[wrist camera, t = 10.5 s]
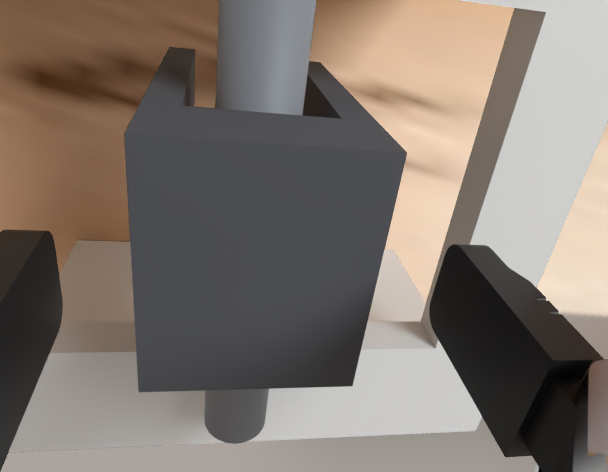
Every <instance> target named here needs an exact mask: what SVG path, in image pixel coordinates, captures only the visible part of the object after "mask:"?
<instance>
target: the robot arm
mask: <svg viewBox="0 0 608 472" xmlns="http://www.w3.org/2000/svg"><path fill="white" fill-rule="evenodd" d="M62 312H63V300H62V292H61V285H60V278H59V272H58V265H57V258H56V251H55V244H54V240H53V236H52V234H51V233H50V232H49V231H31V230H3V231H1V232H0V471H1V468H2V466H3V464H4V461H5V459H6V457H7V454H8V452H9V449H10V447H11V445H12V442H13V440H14V438H15V435H16V433H17V430H18V428H19V426H20V423H21V421H22V418H23V416H24V414H25V411H26V409H27V406H28V404H29V402H30V399H31V397H32V394H33V392H34V390H35V387H36V385H37V382H38V380H39V378H40V375H41V373H42V370H43V368H44V366H45V363H46V361H47V358H48V356H49V354H50V351H51V349H52V346H53V344H54V342H55V339H56V337H57V334H58V332H59V329H60V325H61V320H62ZM429 316H430V323H431V326H432V329H433V331H434V333H435V335H436V336H437V338H438V340H439V342H440V343H441V345H442V347H443V349H444V350H445V352H446V354H447V356H448V357H449V359H450V361H451V363H452V364H453V366H454V368H455V370H456V371H457V373H458V375H459V377H460V378H461V380H462V382H463V384H464V386H465V387H466V389H467V391H468V393H469V394H470V396H471V398H472V400H473V401H474V403H475V405H476V407H477V408H478V410H479V412H480V414H481V415H482V417H483V419H484V421H485V422H486V424H487V426H488V428H489V429H490V431H491V433H492V435H493V436H494V438H495V440H496V442H497V444H498V445H499V447H500V449H501V450H502V452H503V454H504V456H505V457H516V456H531V455H532V456H533V458H534V460H535V461H536V463H537V464H536V467H535V468H534V470H533V472H608V359H603V358H602V357H601V356H600V355H599V353H598V352H596V351H595V349H594V348H593V347H592V346H591V345H590V344H589V343H588V342H587V341H586V340H585V339H584V338H583V337H582V335H580V333H579V332H578V331H577V330H576V329H575V328H574V327H573V326H572V325H571V324H570V323H569V322H568V321H567V320H566V319H565V318H564V316H563V315H562V314H558V310H557V309H556V308H555V307H554V306H553V305H552V304H551V303H550V302H549V301H546V297H545V296H544V295H543V294H542V293H541V292H540V291H539V290H538V289H537V288H536V287H535V286H534V285H533V284H532V283H531V282H530V281H529V280H527V279H526V278H524V277H522V276H521V275H519V274H518V273H516V272H515V271H513V270H512V269H510V268H509V267H508V266H507V265H506V264H505V263H504V262H503V261H502V260H501V259H500V258H499V257H498V255H497V254H496V253H495V252H494V251H493V250H492V249H491V248H490V247H489V246H486V245H463V244H453V245H451V246H450V247H449V248H448V249H447V251H446V253H445V256H444V259H443V262H442V266H441V269H440V272H439V275H438V278H437V282H436V285H435V288H434V291H433V295H432V298H431V301H430V307H429Z"/></svg>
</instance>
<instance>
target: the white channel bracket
mask: <svg viewBox="0 0 608 472" xmlns="http://www.w3.org/2000/svg"><path fill="white" fill-rule="evenodd" d="M461 1H468V2H475V3H483V4H490V5H497V6H505V7H512V8H514V11H513V15H512V18H511V21H510V25H509V28H508V31H507V35H506V38H505V41H504V45H503V48H502V51H501V55H500V58H499V61H498V65H497V68H496V71H495V75H494V78H493V81H492V85H491V88H490V91H489V95H488V98H487V101H486V105H485V108H484V111H483V115H482V118H481V121H480V125H479V128H478V131H477V135H476V138H475V141H474V145H473V148H472V151H471V155H470V158H469V161H468V165H467V168H466V171H465V175H464V178H463V181H462V185H461V188H460V191H459V195H458V198H457V201H456V205H455V208H454V211H453V215H452V218H451V221H450V225H449V228H448V231H447V235H446V238H445V241H444V245H443V248H442V251H441V255H440V258H439V261H438V265H437V268H436V271H435V275H434V278H433V281H432V285H431V288H430V291H429V295H428V298H427V301H426V303H425V301H424V299H423V298H422V296H421V294H420V293H419V291H418V289H417V288H416V286H415V284H414V283H413V281H412V279H411V278H410V276H409V274H408V272H407V271H406V269H405V267H404V266H403V264H402V262H401V261H400V259H399V257H398V256H397V254H396V252H395V251H394V249H384V253H383V258H382V262H381V266H380V271H379V275H378V279H377V283H376V288H375V292H374V296H373V301H372V305H371V309H370V313H369V318H368V322H367V326H366V330H365V335H364V339H363V343H362V348H361V352H360V356H359V360H358V365H357V369H356V373H355V377H354V382H353V386H346V387H311V388H275V389H239V390H203V391H167V392H139V391H138V373H137V355H136V337H135V319H134V300H133V282H132V264H131V246H130V242H122V241H88V240H77V241H76V243H75V245H74V247H73V249H72V251H71V253H70V255H69V257H68V259H67V261H66V263H65V265H64V267H63V269H62V271H61V273H60V275H59V278H60V285H61V292H62V300H63V312H62V320H61V325H60V329H59V332H58V334H57V337H56V339H55V342H54V344H53V346H52V349H51V351H50V354H49V356H48V358H47V361H46V363H45V366H44V368H43V370H42V373H41V375H40V378H39V380H38V382H37V385H36V387H35V390H34V392H33V394H32V397H31V399H30V402H29V404H28V406H27V409H26V411H25V414H24V416H23V418H22V421H21V423H20V426H19V428H18V430H17V433H16V435H15V438H14V440H13V442H12V445H11V447H10V449H9V452H8V453H14V452H34V451H55V450H77V449H97V448H117V447H118V448H120V447H141V446H163V445H183V444H204V443H242V442H247V441H269V440H290V439H311V438H333V437H352V436H353V437H354V436H374V435H396V434H415V433H416V434H418V433H439V432H459V431H476V429H477V427H478V424H479V422H480V420H481V417H482V415H481V414H480V412H479V410H478V408H477V407H476V405H475V403H474V401H473V400H472V398H471V396H470V394H469V393H468V391H467V389H466V387H465V386H464V384H463V382H462V380H461V378H460V377H459V375H458V373H457V371H456V370H455V368H454V366H453V364H452V363H451V361H450V359H449V357H448V356H447V354H446V352H445V350H444V349H443V347H442V345H441V343H440V342H439V340H438V338H437V336H436V335H435V333H434V331H433V329H432V326H431V323H430V316H429V307H430V301H431V298H432V295H433V291H434V288H435V285H436V282H437V278H438V275H439V272H440V269H441V266H442V262H443V259H444V256H445V253H446V251H447V249H448V248H449V247H450V246H451V245H453V244H463V245H486V246H489V247H490V248H491V249H492V250H493V251H494V252H495V253H496V254H497V255H498V257H499V258H500V259H501V260H502V261H503V262H504V263H505V264H506V265H507V266H508V267H509V268H510V269H512V270H513V271H515V272H516V273H518V274H519V275H521V276H522V277H524V278H526V279H527V280H529V281H530V282H531V283H532V284H533V285H534V286H535V287H536V288H537V286H538V284H539V281H540V279H541V277H542V274H543V272H544V270H545V267H546V265H547V263H548V260H549V258H550V256H551V253H552V251H553V249H554V246H555V244H556V242H557V239H558V237H559V234H560V232H561V230H562V227H563V225H564V223H565V220H566V218H567V216H568V213H569V211H570V209H571V206H572V204H573V202H574V199H575V197H576V195H577V192H578V190H579V188H580V185H581V183H582V181H583V178H584V176H585V173H586V171H587V169H588V166H589V164H590V162H591V159H592V157H593V155H594V152H595V150H596V148H597V145H598V143H599V141H600V138H601V136H602V134H603V131H604V129H605V127H606V124H607V122H608V0H461ZM315 8H316V0H219V20H218V48H217V76H216V104H215V108H216V109H228V110H240V111H253V112H264V113H277V114H290V115H303V106H304V98H305V90H306V82H307V74H308V65H309V57H310V49H311V41H312V33H313V24H314V16H315Z"/></svg>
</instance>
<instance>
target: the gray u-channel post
mask: <svg viewBox="0 0 608 472" xmlns="http://www.w3.org/2000/svg"><path fill="white" fill-rule="evenodd" d="M194 84H195V50H194V49H184V48H174V47H170V48H169V49H168V51H167V53H166V55H165V57H164V59H163V61H162V63H161V65H160V66H159V68H158V70H157V72H156V74H155V76H154V78H153V80H152V82H151V84H150V85H149V87H148V89H147V91H146V93H145V95H144V97H143V99H142V101H141V103H140V104H139V106H138V108H137V110H136V112H135V114H134V116H133V118H132V120H131V121H130V123H129V125H128V127H127V129H126V131H125V133H124V137H125V155H126V173H127V192H128V210H129V228H130V246H131V264H132V282H133V300H134V319H135V337H136V355H137V373H138V391H139V392H167V391H203V390H239V389H275V388H311V387H346V386H353V382H354V377H355V373H356V369H357V365H358V360H359V356H360V352H361V348H362V343H363V339H364V335H365V330H366V326H367V322H368V318H369V313H370V309H371V305H372V301H373V296H374V292H375V288H376V283H377V279H378V275H379V271H380V266H381V262H382V258H383V253H384V249H385V245H386V241H387V236H388V232H389V228H390V224H391V219H392V215H393V211H394V206H395V202H396V198H397V194H398V189H399V185H400V181H401V177H402V172H403V168H404V164H405V159H406V155H407V152H406V151H405V150H404V149H403V148H402V147H401V146H400V145H399V144H398V143H397V142H396V141H395V140H394V139H393V138H392V137H391V136H390V135H389V134H388V133H387V131H386V130H385V129H384V128H383V127H382V126H381V125H380V124H379V123H378V122H377V121H376V120H375V119H374V118H373V117H372V116H371V115H370V114H369V113H368V112H367V111H366V110H365V109H364V108H363V107H362V106H361V105H360V103H359V102H358V101H357V100H356V99H355V98H354V97H353V96H352V95H351V94H350V93H349V92H348V91H347V90H346V89H345V88H344V87H343V86H342V85H341V84H340V83H339V82H338V81H337V80H336V79H335V78H334V77H333V75H332V74H331V73H330V72H329V71H328V70H327V69H326V68H325V67H324V66H323V65H322V64H321V63H320V62H310V61H309V65H308V74H307V82H306V90H305V98H304V106H303V115H290V114H277V113H264V112H253V111H240V110H228V109H216V108H203V107H194Z"/></svg>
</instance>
